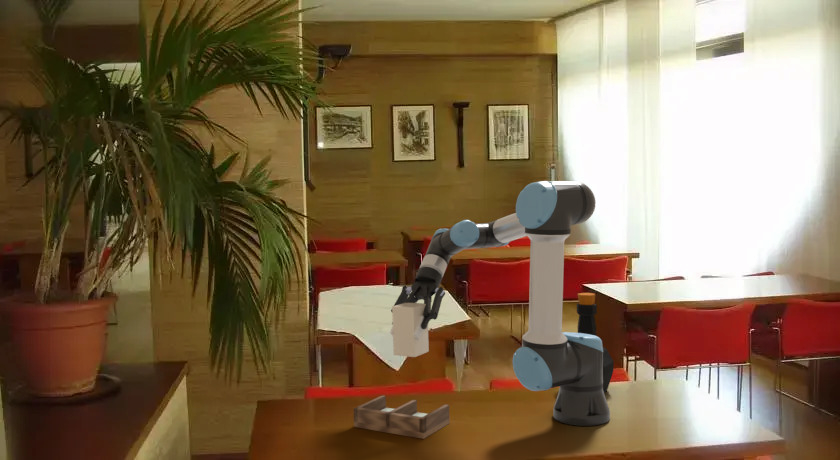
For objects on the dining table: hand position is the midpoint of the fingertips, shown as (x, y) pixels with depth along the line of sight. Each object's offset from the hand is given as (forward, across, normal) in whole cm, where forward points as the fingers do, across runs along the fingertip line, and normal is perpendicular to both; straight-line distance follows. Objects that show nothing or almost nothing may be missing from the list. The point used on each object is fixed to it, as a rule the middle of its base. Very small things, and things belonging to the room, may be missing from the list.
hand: (404, 336), depth 212 cm
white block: (+1, 0, -6) cm, 7 cm away
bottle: (-16, -39, -47) cm, 63 cm away
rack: (+23, -5, -8) cm, 25 cm away
